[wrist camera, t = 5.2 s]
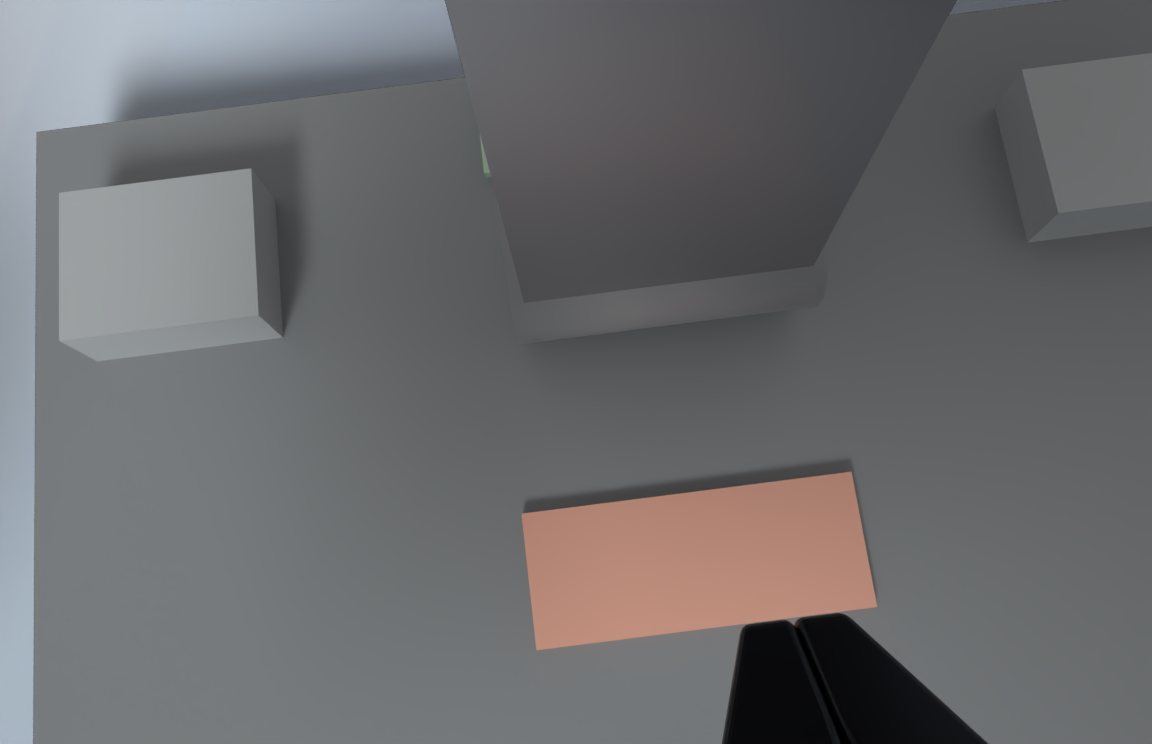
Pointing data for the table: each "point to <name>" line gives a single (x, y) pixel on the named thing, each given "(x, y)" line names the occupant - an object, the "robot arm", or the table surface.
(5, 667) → the table surface
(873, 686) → the robot arm
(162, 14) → the table surface
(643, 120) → the handle
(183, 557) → the panel
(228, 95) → the table surface
